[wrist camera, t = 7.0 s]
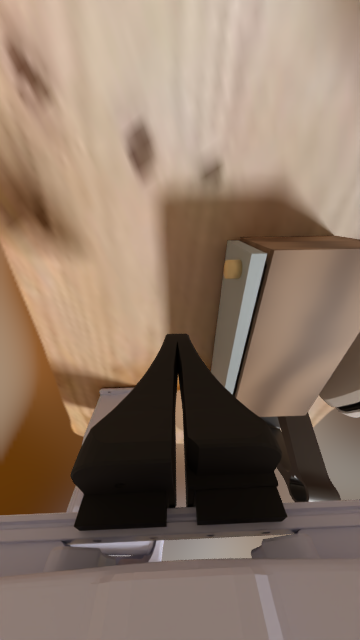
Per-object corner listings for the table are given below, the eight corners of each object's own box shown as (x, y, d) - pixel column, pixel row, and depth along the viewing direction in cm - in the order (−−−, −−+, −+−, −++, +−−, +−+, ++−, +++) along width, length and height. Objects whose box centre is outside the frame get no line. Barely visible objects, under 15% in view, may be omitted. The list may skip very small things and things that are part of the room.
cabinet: (219, 375, 27) (231, 417, 21) (241, 237, 17) (274, 250, 11) (278, 373, 27) (305, 415, 21) (334, 235, 17) (413, 248, 11)
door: (203, 375, 26) (210, 415, 21) (216, 240, 16) (236, 253, 11) (217, 374, 26) (227, 414, 21) (238, 240, 16) (267, 253, 11)
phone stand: (280, 399, 30) (334, 494, 20) (305, 407, 32) (367, 499, 22) (248, 424, 35) (279, 514, 24) (272, 430, 36) (310, 517, 26)
